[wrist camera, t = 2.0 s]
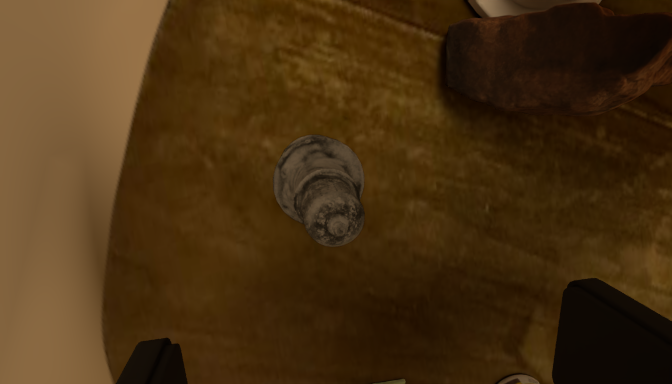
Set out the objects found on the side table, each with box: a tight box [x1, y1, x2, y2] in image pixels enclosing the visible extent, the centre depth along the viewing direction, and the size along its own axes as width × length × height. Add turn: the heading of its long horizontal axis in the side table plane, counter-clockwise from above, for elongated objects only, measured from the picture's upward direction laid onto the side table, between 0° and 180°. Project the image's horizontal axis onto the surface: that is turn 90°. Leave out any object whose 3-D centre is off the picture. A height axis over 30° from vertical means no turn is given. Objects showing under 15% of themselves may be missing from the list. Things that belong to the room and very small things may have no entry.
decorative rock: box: [445, 2, 672, 116], centre depth 22 cm, size 12×6×11 cm, turn 82°
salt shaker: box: [273, 135, 364, 247], centre depth 21 cm, size 6×6×12 cm
